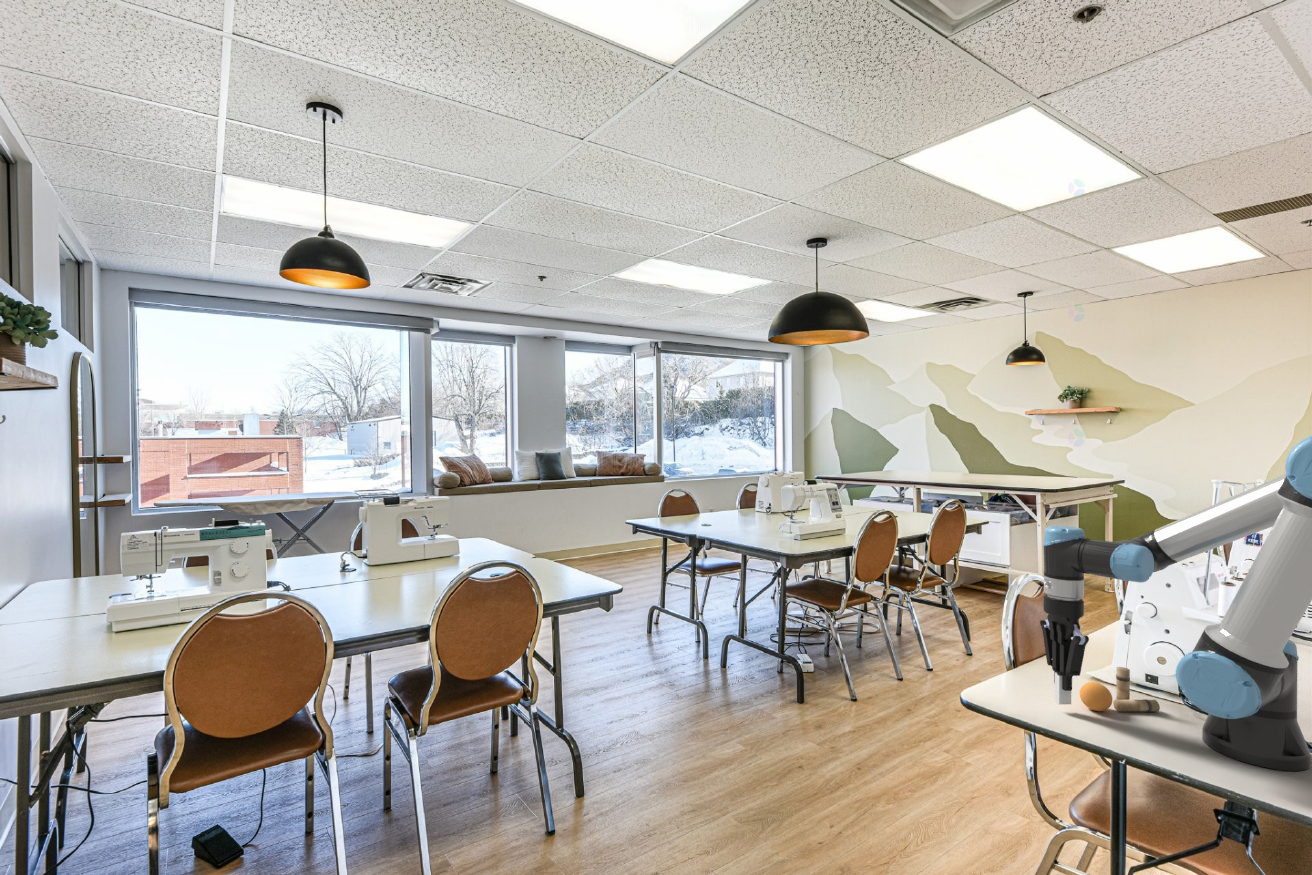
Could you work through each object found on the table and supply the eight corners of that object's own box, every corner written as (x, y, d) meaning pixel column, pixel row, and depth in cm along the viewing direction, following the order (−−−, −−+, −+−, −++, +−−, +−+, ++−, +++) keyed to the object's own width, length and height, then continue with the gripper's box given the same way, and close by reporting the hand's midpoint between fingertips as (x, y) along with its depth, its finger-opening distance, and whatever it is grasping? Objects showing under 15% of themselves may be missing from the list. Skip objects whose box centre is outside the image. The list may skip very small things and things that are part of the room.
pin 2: (1117, 713, 139) (1156, 713, 139) (1123, 707, 137) (1161, 707, 137) (1111, 703, 141) (1149, 703, 141) (1116, 697, 139) (1154, 697, 139)
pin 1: (1130, 706, 141) (1130, 668, 141) (1129, 709, 139) (1129, 671, 140) (1116, 703, 143) (1116, 665, 143) (1115, 706, 141) (1115, 668, 141)
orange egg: (1077, 680, 139) (1077, 708, 139) (1110, 687, 135) (1110, 716, 135) (1081, 677, 144) (1081, 704, 143) (1114, 683, 140) (1114, 711, 139)
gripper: (1028, 589, 145) (1028, 691, 145) (1066, 604, 132) (1066, 715, 132) (1060, 589, 145) (1060, 691, 145) (1101, 604, 132) (1101, 715, 132)
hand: (1062, 702), depth 138 cm, fingers closed
